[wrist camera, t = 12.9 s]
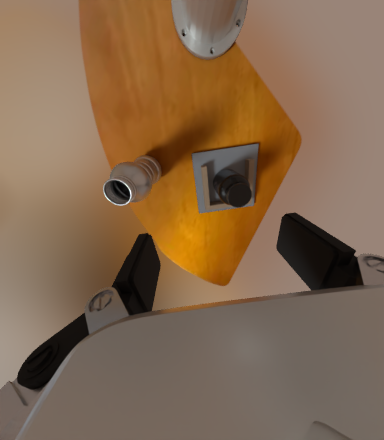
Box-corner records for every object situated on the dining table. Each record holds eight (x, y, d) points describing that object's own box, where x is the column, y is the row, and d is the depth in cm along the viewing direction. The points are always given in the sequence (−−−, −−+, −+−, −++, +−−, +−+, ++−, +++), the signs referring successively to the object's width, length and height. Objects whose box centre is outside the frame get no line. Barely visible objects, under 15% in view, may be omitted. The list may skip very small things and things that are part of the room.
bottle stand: (191, 153, 35) (192, 154, 32) (256, 143, 35) (263, 143, 32) (198, 211, 43) (200, 217, 40) (252, 204, 42) (257, 209, 39)
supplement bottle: (235, 163, 36) (256, 172, 25) (240, 189, 39) (260, 206, 28) (209, 173, 37) (218, 185, 26) (215, 197, 40) (226, 217, 29)
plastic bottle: (148, 148, 34) (110, 153, 17) (168, 171, 37) (153, 196, 19) (131, 166, 36) (79, 188, 18) (151, 186, 39) (122, 223, 21)
